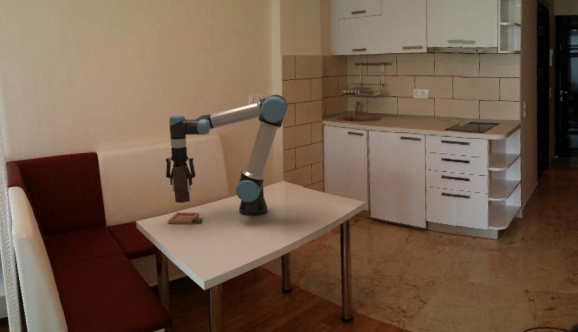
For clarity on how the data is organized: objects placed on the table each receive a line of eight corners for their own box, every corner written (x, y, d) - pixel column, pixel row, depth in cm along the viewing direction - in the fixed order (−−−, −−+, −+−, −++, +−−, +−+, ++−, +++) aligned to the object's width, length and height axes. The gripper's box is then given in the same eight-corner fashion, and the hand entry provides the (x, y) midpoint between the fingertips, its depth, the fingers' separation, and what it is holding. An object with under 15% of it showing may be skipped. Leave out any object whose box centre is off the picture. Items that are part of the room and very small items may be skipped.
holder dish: (199, 216, 272) (199, 212, 271) (191, 224, 259) (191, 220, 259) (177, 215, 273) (177, 212, 273) (168, 223, 261) (168, 220, 260)
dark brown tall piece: (186, 204, 260) (183, 166, 255) (172, 204, 261) (169, 165, 257) (192, 200, 267) (189, 162, 263) (178, 200, 268) (176, 162, 264)
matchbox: (202, 222, 262) (202, 218, 262) (200, 223, 259) (200, 220, 259) (193, 221, 263) (192, 218, 263) (191, 223, 260) (190, 220, 260)
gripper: (200, 145, 260) (203, 189, 265) (162, 145, 263) (165, 188, 268) (196, 148, 253) (198, 193, 258) (156, 148, 255) (160, 192, 260)
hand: (181, 191), depth 263 cm, fingers closed on dark brown tall piece, 7 cm apart
